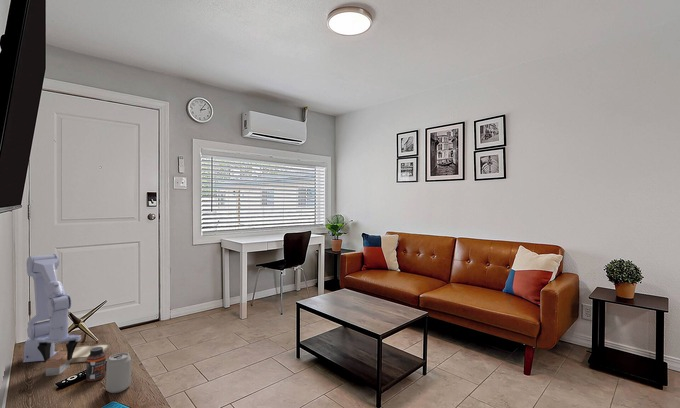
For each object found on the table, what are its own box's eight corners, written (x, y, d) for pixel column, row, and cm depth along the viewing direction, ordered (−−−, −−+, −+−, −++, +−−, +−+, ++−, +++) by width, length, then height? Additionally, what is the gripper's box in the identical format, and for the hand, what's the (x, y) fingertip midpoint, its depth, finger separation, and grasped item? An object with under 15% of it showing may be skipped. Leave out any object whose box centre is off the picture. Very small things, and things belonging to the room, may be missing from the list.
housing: (45, 376, 131) (46, 360, 131) (57, 366, 139) (57, 351, 139) (59, 374, 132) (59, 359, 132) (70, 365, 140) (70, 350, 140)
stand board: (57, 363, 141) (57, 359, 141) (74, 349, 154) (74, 346, 154) (96, 360, 144) (96, 356, 144) (109, 346, 158) (109, 343, 158)
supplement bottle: (95, 383, 127) (95, 352, 127) (82, 381, 128) (82, 351, 128) (109, 375, 132) (109, 346, 132) (96, 373, 134) (96, 344, 134)
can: (126, 380, 129) (126, 349, 129) (133, 388, 124) (134, 355, 124) (103, 389, 123) (103, 356, 123) (110, 396, 118) (110, 362, 118)
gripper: (30, 331, 130) (30, 366, 130) (75, 328, 133) (74, 362, 133) (42, 325, 137) (41, 358, 137) (83, 322, 140) (83, 355, 140)
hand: (58, 360), depth 135 cm, fingers open, 7 cm apart
